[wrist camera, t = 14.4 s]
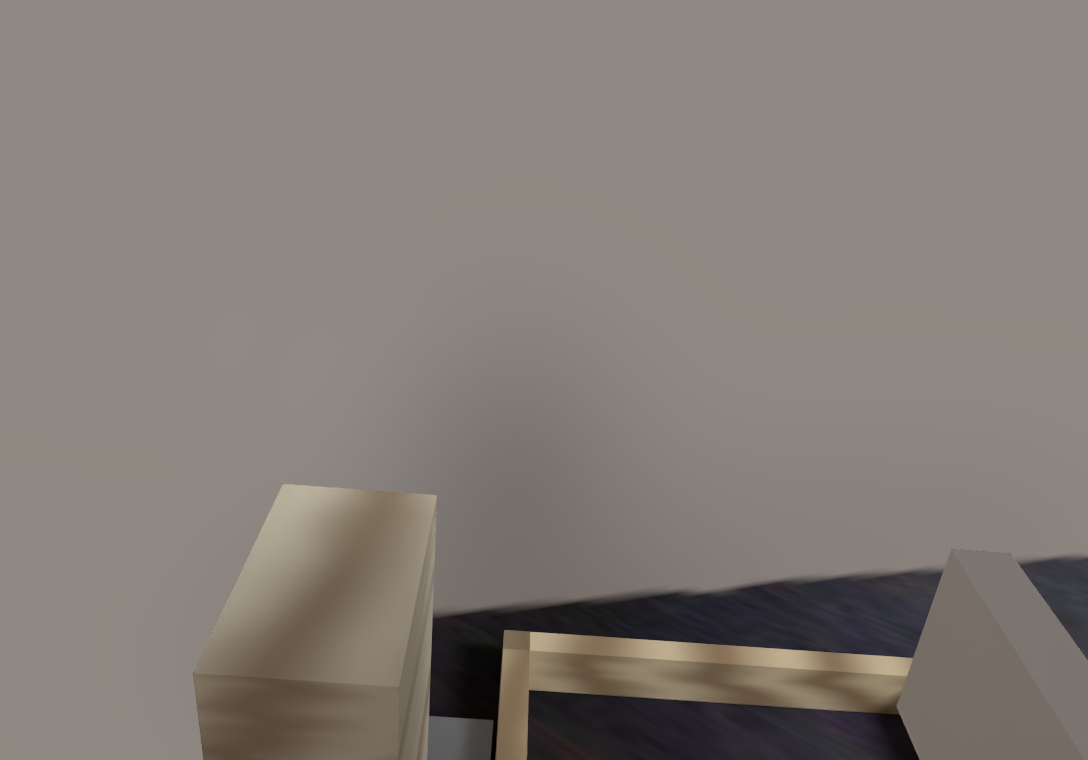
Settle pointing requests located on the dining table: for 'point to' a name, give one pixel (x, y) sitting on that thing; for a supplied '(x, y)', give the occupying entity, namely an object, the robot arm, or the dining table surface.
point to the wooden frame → (686, 676)
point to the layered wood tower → (326, 633)
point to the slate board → (459, 738)
